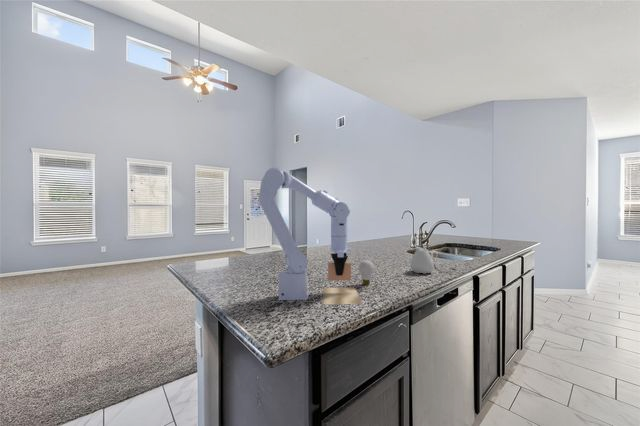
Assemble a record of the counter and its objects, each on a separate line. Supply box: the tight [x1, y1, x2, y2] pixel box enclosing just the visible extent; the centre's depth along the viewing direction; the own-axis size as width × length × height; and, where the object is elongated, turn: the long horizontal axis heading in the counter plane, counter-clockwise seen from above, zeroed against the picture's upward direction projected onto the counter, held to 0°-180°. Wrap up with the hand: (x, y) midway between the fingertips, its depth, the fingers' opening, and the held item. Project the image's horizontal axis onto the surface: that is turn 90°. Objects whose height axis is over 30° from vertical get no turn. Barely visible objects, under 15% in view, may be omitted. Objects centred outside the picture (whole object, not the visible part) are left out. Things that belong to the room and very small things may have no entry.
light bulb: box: [358, 259, 375, 286], centre depth 104 cm, size 6×6×10 cm
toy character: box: [410, 246, 435, 275], centre depth 126 cm, size 10×10×12 cm
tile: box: [327, 261, 352, 281], centre depth 95 cm, size 8×2×6 cm, turn 90°
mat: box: [322, 286, 363, 306], centre depth 91 cm, size 12×18×1 cm, turn 0°
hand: (339, 274), depth 95 cm, fingers closed on tile, 2 cm apart
